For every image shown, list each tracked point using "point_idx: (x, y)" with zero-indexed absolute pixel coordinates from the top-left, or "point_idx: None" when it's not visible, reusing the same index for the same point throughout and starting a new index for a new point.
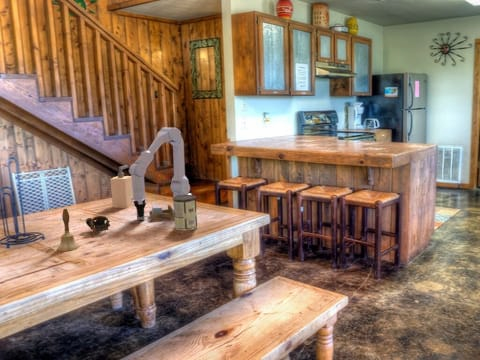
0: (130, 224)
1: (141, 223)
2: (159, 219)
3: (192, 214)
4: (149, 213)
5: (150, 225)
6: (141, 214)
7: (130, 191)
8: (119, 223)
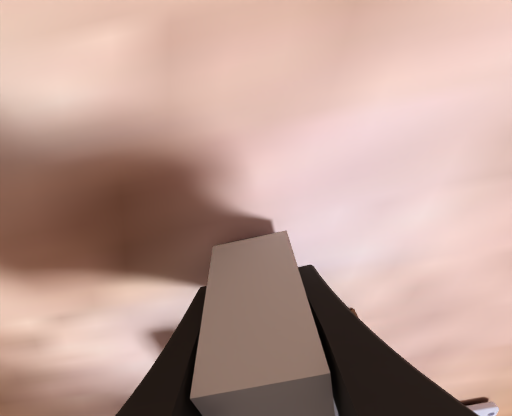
0: (69, 192)
1: (123, 286)
2: None
3: None
4: None
5: (65, 351)
6: None
7: None
8: (101, 14)
